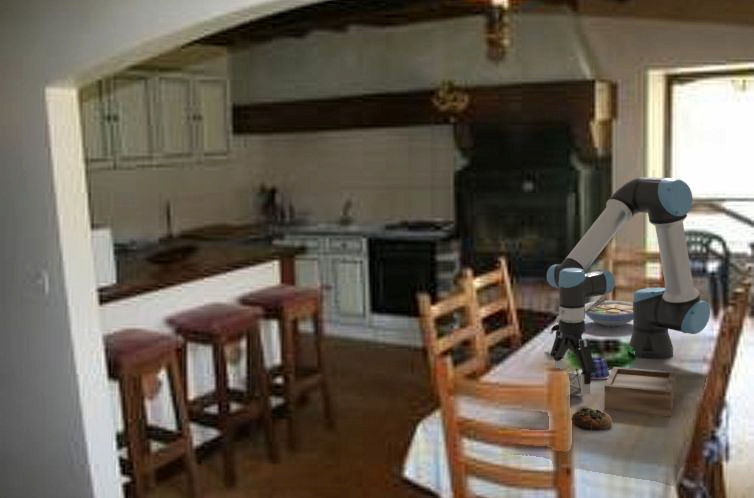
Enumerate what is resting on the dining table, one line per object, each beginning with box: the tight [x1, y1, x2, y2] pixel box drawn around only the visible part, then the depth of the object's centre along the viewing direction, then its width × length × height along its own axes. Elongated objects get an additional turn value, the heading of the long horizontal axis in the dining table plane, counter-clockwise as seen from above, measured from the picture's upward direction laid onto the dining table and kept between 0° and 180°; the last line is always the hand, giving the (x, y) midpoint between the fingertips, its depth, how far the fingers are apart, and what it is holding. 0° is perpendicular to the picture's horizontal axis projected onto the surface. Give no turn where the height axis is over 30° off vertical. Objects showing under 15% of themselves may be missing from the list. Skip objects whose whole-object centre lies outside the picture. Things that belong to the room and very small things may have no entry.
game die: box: [567, 368, 583, 396], centre depth 237 cm, size 9×8×10 cm
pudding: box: [577, 357, 612, 380], centre depth 255 cm, size 12×12×5 cm
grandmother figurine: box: [550, 315, 561, 335], centre depth 285 cm, size 8×4×13 cm, turn 71°
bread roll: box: [571, 407, 613, 431], centre depth 216 cm, size 11×11×5 cm
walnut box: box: [603, 366, 676, 417], centre depth 229 cm, size 18×18×7 cm
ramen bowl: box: [585, 296, 633, 327], centre depth 313 cm, size 25×23×8 cm
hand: (572, 387), depth 237 cm, fingers open, 13 cm apart
